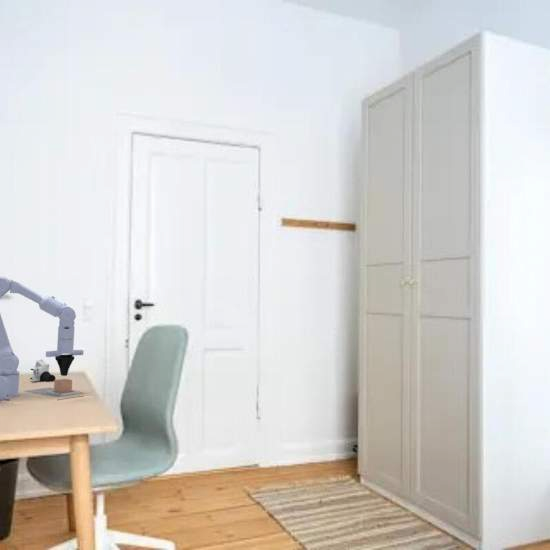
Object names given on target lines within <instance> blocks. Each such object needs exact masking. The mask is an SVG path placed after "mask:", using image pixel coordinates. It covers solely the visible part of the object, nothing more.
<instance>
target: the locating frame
mask: <svg viewBox="0 0 550 550" xmlns="http://www.w3.org/2000/svg"><path fill="white" fill-rule="evenodd" d="M80 392H81V391H80V390H74V389H72V392H67V393H57V392H54V390H53V391H46V394H51V395H57V396H61V397H66V396H65V395H68V396H73V395H72V394H74V395H80V394H79V393H80Z"/></svg>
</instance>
